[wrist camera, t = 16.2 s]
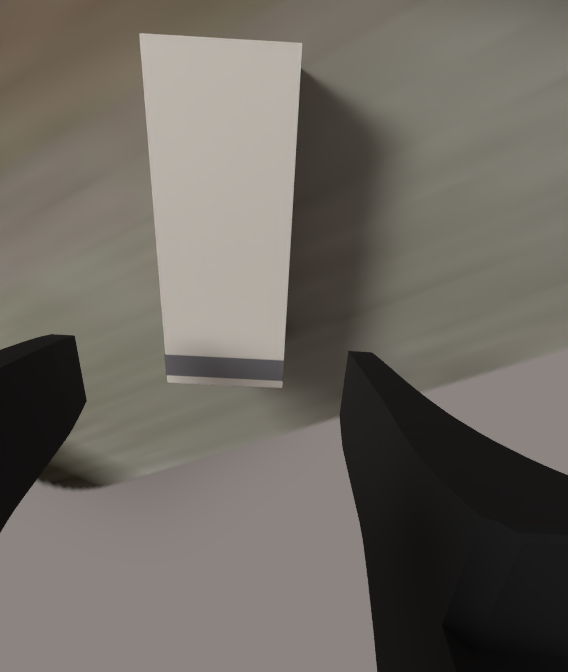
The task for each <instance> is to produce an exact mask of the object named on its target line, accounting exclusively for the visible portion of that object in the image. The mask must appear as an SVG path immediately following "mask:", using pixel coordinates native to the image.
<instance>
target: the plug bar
mask: <svg viewBox="0 0 568 672" xmlns="http://www.w3.org/2000/svg"><path fill="white" fill-rule="evenodd" d="M139 35H140V48H141V60H142V72H143V85H144V97H145V109H146V122H147V134H148V146H149V159H150V171H151V183H152V196H153V208H154V220H155V233H156V245H157V257H158V270H159V282H160V294H161V307H162V319H163V331H164V344H165V366H166V375H167V381H168V382H171V383H191V384H211V385H230V386H250V387H270V388H282V381H283V374H284V352H285V330H286V313H287V296H288V278H289V261H290V244H291V227H292V210H293V193H294V176H295V159H296V141H297V124H298V107H299V90H300V73H301V56H302V43H292V42H275V41H259V40H242V39H225V38H208V37H192V36H175V35H158V34H142V33H139Z"/></svg>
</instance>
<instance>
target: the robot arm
mask: <svg viewBox="0 0 568 672" xmlns="http://www.w3.org/2000/svg"><path fill="white" fill-rule="evenodd" d="M86 401H87V400H86V395H85V390H84V384H83V379H82V373H81V368H80V362H79V357H78V351H77V346H76V341H75V336H71V335H54V334H51V335H46V336H42V337H38V338H34V339H31V340H28V341H25V342H22V343H19V344H16V345H13V346H10V347H7V348H4V349H2V350H0V532H1V531H2V529H3V527H4V525H5V524H6V522H7V520H8V519H9V517H10V516H11V514H12V513H13V511H14V510H15V508H16V507H17V506H18V504H19V503H20V501H21V500H22V498H23V497H24V496H25V494H26V493H27V492H28V490H29V489H30V488H31V486H32V485H33V484H34V482H35V481H36V480H37V478H38V477H39V475H40V474H41V473H42V471H43V470H44V469H45V467H46V466H47V465H48V463H49V462H50V460H51V459H52V458H53V456H54V455H55V454H56V452H57V451H58V449H59V448H60V447H61V445H62V444H63V442H64V441H65V440H66V438H67V437H68V435H69V434H70V432H71V431H72V429H73V427H74V425H75V423H76V421H77V420H78V418H79V416H80V414H81V411H82V409H83V407H84V405H85V403H86ZM340 425H341V436H342V446H343V451H344V456H345V461H346V465H347V469H348V474H349V478H350V483H351V487H352V491H353V496H354V500H355V504H356V508H357V513H358V517H359V521H360V527H361V532H362V538H363V544H364V552H365V560H366V568H367V577H368V585H369V594H370V603H371V612H372V621H373V630H374V640H375V651H376V662H377V672H568V475H566V474H563V473H561V472H558V471H556V470H553V469H551V468H549V467H547V466H544V465H542V464H540V463H538V462H536V461H533V460H531V459H529V458H526V457H525V456H523V455H521V454H519V453H517V452H515V451H513V450H511V449H509V448H507V447H505V446H503V445H501V444H499V443H497V442H495V441H493V440H491V439H490V438H488V437H486V436H484V435H482V434H481V433H479V432H477V431H476V430H474V429H472V428H471V427H469V426H467V425H466V424H464V423H462V422H461V421H459V420H458V419H456V418H454V417H453V416H451V415H450V414H448V413H447V412H445V411H444V410H443V409H441V408H440V407H438V406H437V405H436V404H434V403H433V402H432V401H430V400H429V399H428V398H426V397H425V396H424V395H422V394H421V393H420V392H418V391H417V390H416V389H415V388H413V387H412V386H411V385H410V384H409V383H407V382H406V381H405V380H404V379H403V378H401V377H400V376H399V375H398V374H397V373H396V372H394V371H393V370H392V369H391V368H390V367H389V366H388V365H386V364H385V363H384V362H383V361H382V360H381V359H379V358H378V357H377V356H376V355H374V354H373V353H371V352H354V351H348V359H347V366H346V373H345V380H344V388H343V395H342V402H341V409H340Z"/></svg>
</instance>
